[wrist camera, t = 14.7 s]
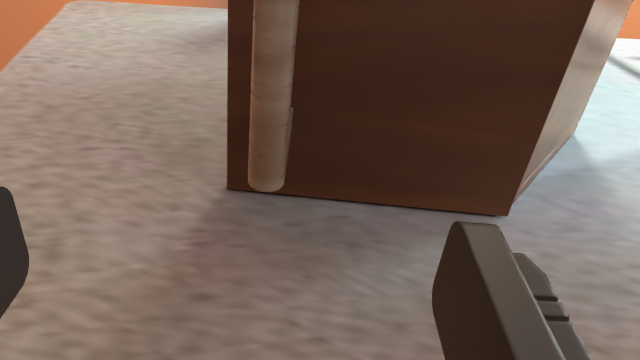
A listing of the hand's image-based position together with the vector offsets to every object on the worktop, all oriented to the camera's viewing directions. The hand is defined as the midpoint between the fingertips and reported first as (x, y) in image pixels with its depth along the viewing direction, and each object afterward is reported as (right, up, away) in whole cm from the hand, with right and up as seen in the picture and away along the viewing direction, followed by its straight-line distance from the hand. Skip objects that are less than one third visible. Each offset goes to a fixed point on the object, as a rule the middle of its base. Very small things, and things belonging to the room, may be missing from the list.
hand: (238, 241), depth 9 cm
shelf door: (+4, -1, +17) cm, 17 cm away
